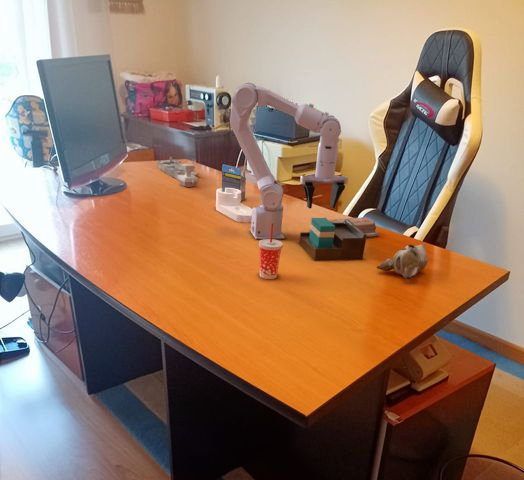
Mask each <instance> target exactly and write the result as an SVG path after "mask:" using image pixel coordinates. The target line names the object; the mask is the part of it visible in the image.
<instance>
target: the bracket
mask: <svg viewBox="0 0 524 480" xmlns="http://www.w3.org/2000/svg"><path fill="white" fill-rule="evenodd" d="M215 192H216V198H215V201H216V202H215V210H216V212H219V213H220V214H223V215H224V216H226V217H228V218H230V219H231V220H233V221H235V222H237V223H251V220H252V210H253V208H252V207H250V206H248V205H246V204H243V203H242V201H241V191H240V190H238V189H235V188H225V192H222V187H219V188H217V189H216V191H215Z"/></svg>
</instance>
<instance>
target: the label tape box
mask: <svg viewBox="0 0 524 480" xmlns="http://www.w3.org/2000/svg"><path fill="white" fill-rule="evenodd" d="M246 180H247V178H246V177H245V176H243V175H242V168H241V167H236V166H232V165H228V164H222V169H221V188H222V192H225V188H235V189H238V190H240V191H241V202H244V201H245V200H246V184H247V181H246Z"/></svg>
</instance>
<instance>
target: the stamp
mask: <svg viewBox="0 0 524 480" xmlns="http://www.w3.org/2000/svg"><path fill="white" fill-rule="evenodd" d="M180 165H181V168H182V170H184V171H185V175H178V176H177V178H176V180H177V182H178V183H179V184H180V185H182V186H183V187H185V188H189V187H195V186H197V184H198V183H199V182H200V180H199V177H197V175H195V176H194V175H191V171H193V172H195V169H196V167H195V165H194V164H191V163H184V164H180Z"/></svg>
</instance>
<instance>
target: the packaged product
mask: <svg viewBox="0 0 524 480" xmlns="http://www.w3.org/2000/svg"><path fill="white" fill-rule="evenodd" d="M345 219H348V220H349V221H350V222H352V223H353V224H354V225H355V226H357V227H358V228H359V229H360V230H362V231H363V232H364V233H365V234H367V237H366V238H371V237H372V238H373V237H379V235H380V232H377V231H376V229H377V227H376V222H375V221H374V220H373V219H371V218H369V217H365V216H363V217H350V218H349V217H347V218H336V219H335V218H334V219H328V220H329V221H330V222H331V223H337V222H344V220H345Z"/></svg>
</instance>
